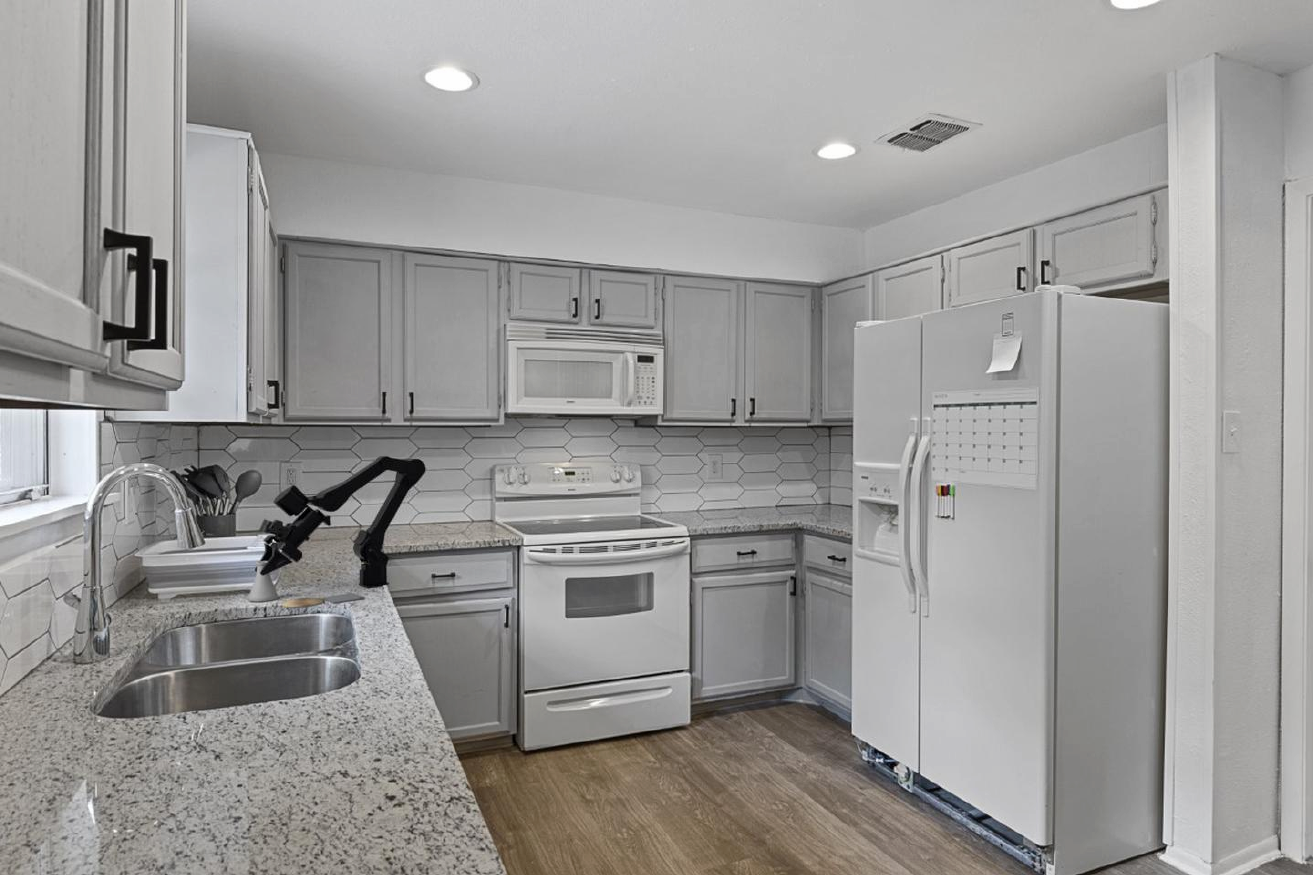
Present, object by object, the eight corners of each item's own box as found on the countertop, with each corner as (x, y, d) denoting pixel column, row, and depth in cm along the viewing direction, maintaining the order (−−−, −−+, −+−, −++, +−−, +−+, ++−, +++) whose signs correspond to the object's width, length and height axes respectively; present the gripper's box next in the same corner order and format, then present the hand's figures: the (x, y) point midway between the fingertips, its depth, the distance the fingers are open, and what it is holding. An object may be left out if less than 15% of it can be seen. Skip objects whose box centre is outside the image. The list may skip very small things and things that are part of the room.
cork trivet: (315, 597, 209) (315, 595, 209) (329, 603, 202) (329, 601, 202) (275, 602, 203) (275, 601, 203) (288, 609, 195) (288, 607, 195)
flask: (284, 598, 208) (283, 560, 208) (258, 603, 202) (257, 565, 202) (268, 595, 212) (268, 558, 212) (242, 600, 206) (241, 562, 206)
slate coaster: (352, 594, 212) (352, 593, 212) (364, 599, 207) (364, 597, 207) (322, 598, 207) (322, 597, 207) (333, 603, 201) (333, 602, 201)
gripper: (271, 505, 217) (226, 549, 210) (288, 510, 202) (241, 558, 195) (302, 531, 222) (259, 575, 215) (320, 538, 207) (276, 585, 200)
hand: (258, 572), depth 206 cm, fingers open, 6 cm apart
